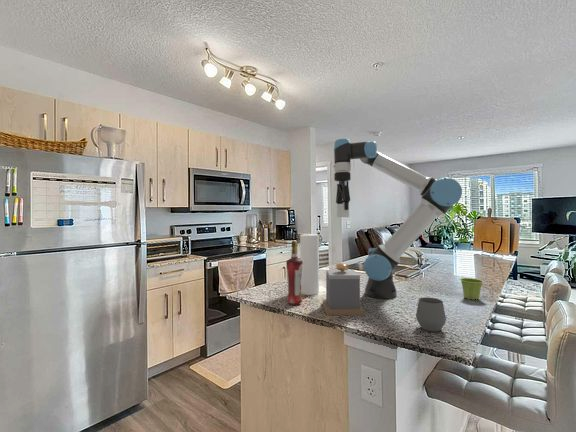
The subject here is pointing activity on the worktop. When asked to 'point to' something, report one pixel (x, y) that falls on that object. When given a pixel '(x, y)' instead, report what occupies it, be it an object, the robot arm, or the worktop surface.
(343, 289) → the press
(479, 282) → the plant pot
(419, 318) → the cup
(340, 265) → the plunger
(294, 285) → the liquor
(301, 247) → the cylinder container
